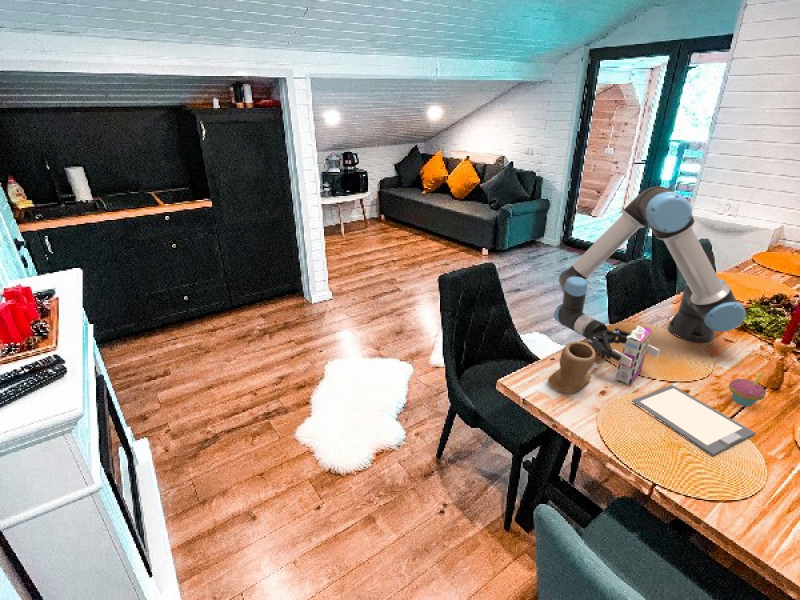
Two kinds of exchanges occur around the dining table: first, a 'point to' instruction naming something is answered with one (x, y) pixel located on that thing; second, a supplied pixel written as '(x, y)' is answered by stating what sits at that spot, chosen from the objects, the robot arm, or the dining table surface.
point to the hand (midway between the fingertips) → (644, 358)
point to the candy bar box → (634, 354)
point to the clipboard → (694, 419)
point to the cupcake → (747, 391)
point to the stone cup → (573, 367)
